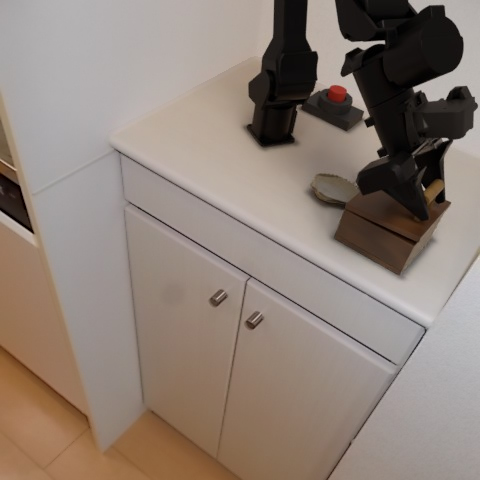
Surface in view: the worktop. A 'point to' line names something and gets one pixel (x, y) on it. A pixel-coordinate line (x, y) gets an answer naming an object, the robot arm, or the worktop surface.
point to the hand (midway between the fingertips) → (433, 211)
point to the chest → (379, 241)
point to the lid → (399, 211)
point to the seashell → (333, 188)
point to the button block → (333, 110)
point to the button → (337, 93)
